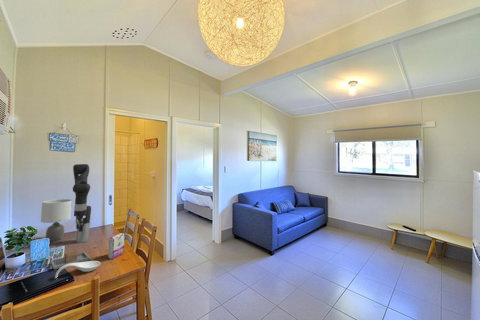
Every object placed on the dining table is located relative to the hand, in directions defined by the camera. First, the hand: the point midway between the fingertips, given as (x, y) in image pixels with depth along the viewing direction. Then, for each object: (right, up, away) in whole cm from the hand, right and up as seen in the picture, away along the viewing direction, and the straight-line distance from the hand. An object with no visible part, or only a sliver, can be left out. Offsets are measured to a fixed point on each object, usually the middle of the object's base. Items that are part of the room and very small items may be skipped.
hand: (79, 230), depth 150 cm
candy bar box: (+25, -24, +6) cm, 35 cm away
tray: (-2, -22, -6) cm, 23 cm away
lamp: (-52, -22, +34) cm, 65 cm away
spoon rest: (+15, -23, -19) cm, 33 cm away
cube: (-2, -21, -6) cm, 22 cm away
